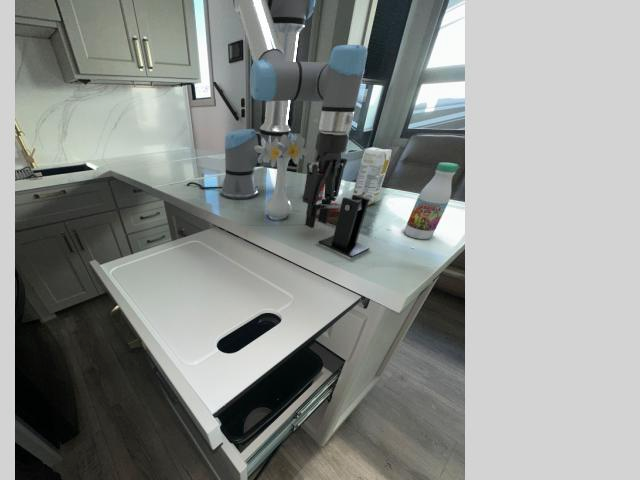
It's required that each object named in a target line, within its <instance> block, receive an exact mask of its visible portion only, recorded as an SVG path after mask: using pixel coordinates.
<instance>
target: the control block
mask: <svg viewBox="0 0 640 480" xmlns="http://www.w3.org/2000/svg"><path fill="white" fill-rule="evenodd" d="M319 212H320V209H319V210H317V213H316V218H315V219H316V220H318V217H319ZM339 212H340V208H338V210H329V214H328V218H327V223H328V224H330V225H333V226H335V227H336V225H337V220H338V216H339ZM327 223H326V224H327Z"/></svg>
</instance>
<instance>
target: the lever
mask: <svg viewBox="0 0 640 480" xmlns="http://www.w3.org/2000/svg"><path fill="white" fill-rule="evenodd" d="M356 201H359V202H360V205H359V209H358V211H359V210H362V200H356ZM341 204H342V203H338V204H327V203H326V202H324V203H321V202H320V203H316V205H318V208H317V210H319V209H327V208H341Z"/></svg>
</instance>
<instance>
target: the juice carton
mask: <svg viewBox="0 0 640 480" xmlns="http://www.w3.org/2000/svg"><path fill="white" fill-rule="evenodd" d="M392 152H393V151H392V149H385V148H379V147H375V146H374V147H373V146H372V147H368V148H365V149H364V151H363V154H362V157H361V161H360V165H359V168H358V172H357V175H356V176H357V177H356V180H355V183H354V187H353V190H352V195H358V196H361V197H365V198H369V199H370V200H369V203H368V206H371V205H373V204H375V203H376V202H377V200H378V197H379V196H380V192H381V191H382V190H381V189H382V186H383V183H384V180H385V177H386V174H387V171H388V167H389V165H390V162H391V158H392V157H391V156H392Z"/></svg>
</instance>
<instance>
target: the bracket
mask: <svg viewBox="0 0 640 480" xmlns="http://www.w3.org/2000/svg"><path fill="white" fill-rule="evenodd" d="M356 200H362V210H359V211H358V209H359V205H360V202H359V201H356ZM369 200H370V199H369V198H365V197H361V196H358V195H353V194H352V195H351V198H350V197H342V199H341V203H340V204H341V208H340V212H339V216H338V220H337V225H336V226H335V229H334V233H333V235H331V236H328V237H326V238H324V239H321V240H319V241H318V244H320V245H322V246H325V247H327V248H329V249H331V250H333V251H336V252H338V253H340V254H342V255H344V256H347V257H349V258H350V259H353V258H355V257H357V256H359V255H361V254H364V253H366V252H367V251H370V247H368V246H366V245H365V244H364V245H363V244H361V243H358V240H359V235H360V232H361V229H362V226H363V222H364V220H365V216H366V212H367V210H368V206H369V205H368V203H369Z"/></svg>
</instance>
